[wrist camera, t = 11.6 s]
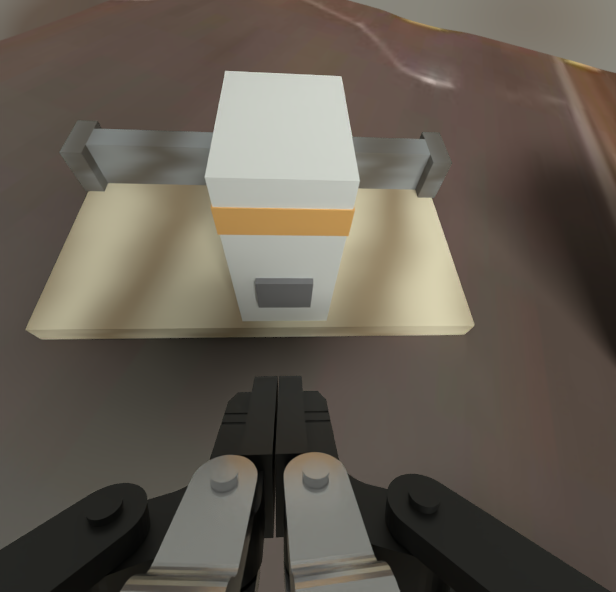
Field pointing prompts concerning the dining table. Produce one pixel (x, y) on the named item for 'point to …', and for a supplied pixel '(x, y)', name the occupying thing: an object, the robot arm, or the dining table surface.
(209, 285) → the mount board
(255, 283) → the module
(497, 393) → the dining table surface
